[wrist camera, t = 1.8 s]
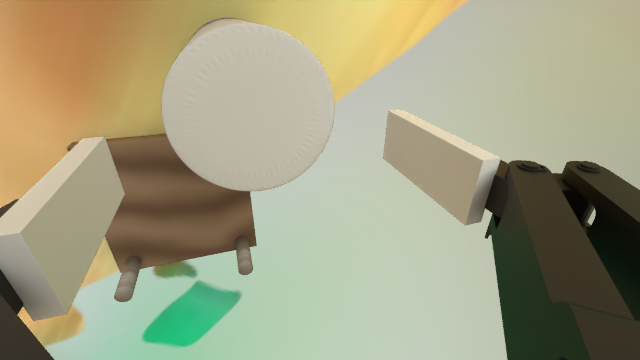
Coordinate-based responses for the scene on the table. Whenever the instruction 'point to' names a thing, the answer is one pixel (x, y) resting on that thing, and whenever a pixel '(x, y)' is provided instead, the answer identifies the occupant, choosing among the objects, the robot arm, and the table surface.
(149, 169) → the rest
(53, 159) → the table surface
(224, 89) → the container
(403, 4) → the table surface
